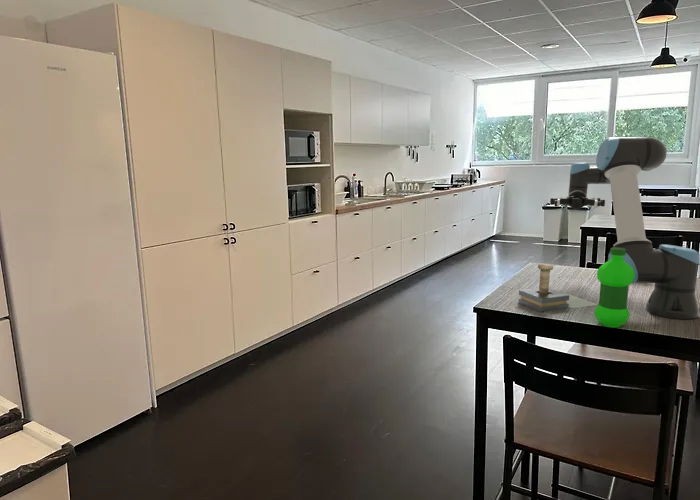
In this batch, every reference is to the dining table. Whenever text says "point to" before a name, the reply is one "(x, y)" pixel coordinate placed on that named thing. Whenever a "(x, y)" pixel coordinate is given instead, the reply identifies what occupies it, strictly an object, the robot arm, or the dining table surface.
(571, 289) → the dining table surface
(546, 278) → the pin
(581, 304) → the mat
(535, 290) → the square socket block
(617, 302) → the plastic bottle
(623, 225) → the robot arm
